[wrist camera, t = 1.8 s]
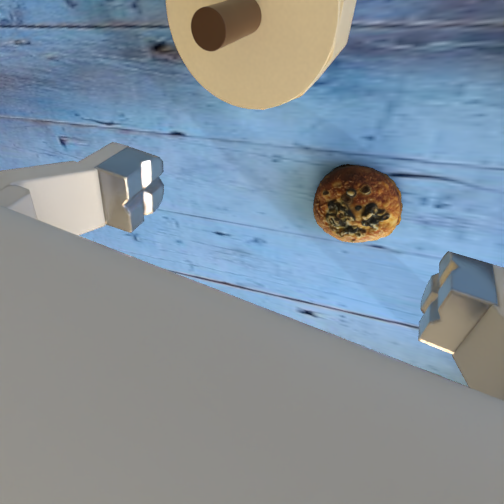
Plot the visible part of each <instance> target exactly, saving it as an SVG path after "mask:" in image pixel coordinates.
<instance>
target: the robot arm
mask: <svg viewBox="0 0 504 504" xmlns="http://www.w3.org/2000/svg"><path fill="white" fill-rule="evenodd" d="M162 173H163V161H162V160H161V158H160V157H158V156H155V155H152V154H149V153H146V152H143V151H140V150H138V149H135V148H132V147H129V146H126V145H123V144H120V143H115V142H112V143H110V144H108V145H107V146H105V147H103V148H101V149H100V150H98V151H96V152H94V153H93V154H91V155H89V156H88V157H86V158H84V159H82V160H81V161H79V162H75V161H68V162H61V163H54V164H46V165H39V166H32V167H24V168H17V169H10V170H2V171H0V504H504V267H500V266H497V265H493V264H489V263H486V262H483V261H479V260H476V259H473V258H469V257H466V256H462V255H459V254H456V253H452V252H449V251H448V252H447V253H446V254H445V255H444V257H443V258H442V260H441V261H440V263H439V273H437V274H435V275H433V276H431V278H430V280H429V282H428V284H427V286H426V288H425V291H424V293H423V296H422V301H421V311H422V312H423V313H424V315H423V316H422V318H421V320H420V321H419V336H418V340H419V341H421V342H423V343H426V344H428V345H431V346H433V347H436V348H438V349H441V350H443V351H446V352H448V353H451V354H453V355H452V356H453V358H454V360H455V362H456V364H457V366H458V368H459V369H460V371H461V373H462V375H463V377H464V379H465V381H466V382H467V384H468V386H469V387H467V386H465V385H462V384H459V383H457V382H454V381H452V380H449V379H447V378H444V377H441V376H439V375H436V374H434V373H431V372H429V371H426V370H423V369H421V368H418V367H416V366H413V365H410V364H408V363H405V362H403V361H400V360H398V359H395V358H392V357H390V356H387V355H385V354H382V353H380V352H377V351H374V350H372V349H369V348H367V347H364V346H361V345H359V344H356V343H354V342H351V341H349V340H346V339H343V338H341V337H338V336H336V335H333V334H331V333H328V332H325V331H323V330H320V329H318V328H315V327H312V326H310V325H307V324H305V323H302V322H300V321H297V320H294V319H292V318H289V317H287V316H284V315H282V314H279V313H276V312H274V311H271V310H269V309H266V308H263V307H261V306H258V305H256V304H253V303H251V302H248V301H245V300H243V299H240V298H238V297H235V296H233V295H230V294H227V293H225V292H222V291H220V290H217V289H215V288H212V287H209V286H207V285H204V284H202V283H199V282H196V281H194V280H191V279H189V278H186V277H184V276H181V275H178V274H176V273H173V272H171V271H168V270H166V269H163V268H160V267H158V266H155V265H153V264H150V263H148V262H145V261H142V260H140V259H137V258H135V257H132V256H130V255H127V254H124V253H122V252H119V251H117V250H114V249H111V248H109V247H106V246H104V245H101V244H99V243H96V242H93V241H91V240H88V239H86V238H83V237H81V236H78V235H81V234H84V233H86V232H89V231H92V230H95V229H97V228H100V227H103V226H105V224H107V225H109V226H112V227H115V228H118V229H121V230H124V231H127V232H130V233H131V232H132V231H134V230H135V229H136V228H137V227H138V226H139V225H140V224H141V223H142V222H144V215H148V214H151V213H153V212H154V211H155V210H156V209H157V208H158V207H159V205H160V203H161V201H162V199H163V193H164V185H163V183H162V181H161V179H160V178H159V176H160V175H161V174H162Z"/></svg>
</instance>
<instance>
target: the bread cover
mask: <svg viewBox="0 0 504 504" xmlns="http://www.w3.org/2000/svg"><path fill="white" fill-rule="evenodd" d="M355 5H356V0H166V8H167V16H168V22H169V27H170V30H171V34H172V37H173V40H174V43H175V45H176V48H177V50H178V52H179V54H180V56H181V58H182V60H183V62H184V63H185V65H186V67H187V68H188V70H189V71H190V72H191V74H192V75H193V76H194V77H195V79H196V80H197V81H198V82H199V83H200V84H201V85H202V86H203V87H204V88H205V89H206V90H208V91H209V92H210V93H211V94H213V95H214V96H216V97H217V98H219V99H221V100H223V101H225V102H227V103H229V104H231V105H235V106H238V107H242V108H247V109H261V110H262V109H263V110H264V109H267V108H271V107H275V106H279V105H281V104H284V103H286V102H288V101H290V100H292V99H295V98H298V97H301V96H302V95H303V94H304V93H305V92H306V91H307V90H308V89H309V88H310V87H311V86H312V85H313V84H314V83H315V82H316V81H317V80H318V79H319V77H320V76H321V75H322V74H323V73H324V71H325V70H326V69H327V68H328V66H329V65H330V64H331V63H332V62H333V60H334V59H335V58H336V57H337V55H338V54H339V53H340V52H341V51H342V49H343V48H344V47H345V46H346V44H347V41H348V36H349V32H350V27H351V23H352V18H353V14H354V9H355Z"/></svg>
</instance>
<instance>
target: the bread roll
mask: <svg viewBox="0 0 504 504" xmlns="http://www.w3.org/2000/svg"><path fill="white" fill-rule="evenodd" d="M313 206H314V208H313V212H314V216H315V219H316V222H317V224H318V225H319V226H320V227H321V228H323V230H324V231H325V232H326V233H328V234H330V235H331V236H333V237H335V238H337V239H339V240H341V241H345V242H352V243H353V242H354V243H357V242H365V241H373V240H377V239H379V238H382V237H386V236H388V235H390V234H391V233H392V231H393V230H394V229H395V227H396V225H398V224H399V223H400V221H401V211H402V203H401V193H400V191H399V189H398V188H397V187H396V184H395V182H394V181H393V180H392V179H390V178H389V177H388V175H386V174H383V173H381V172H379V171H377V170H375V169H373V168H369V167H365V166H358V165H350V164H346V165H345V164H344V165H343V166H342V165H341V166H339V167H337V168H335V169H333V170H332V171H331V172H330V173H329V174H328V175H326V176H325V177H324V178H323V180H322V181H321V182H320V184H319V186H318V188H317V191H316V193H315V198H314V204H313Z"/></svg>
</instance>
